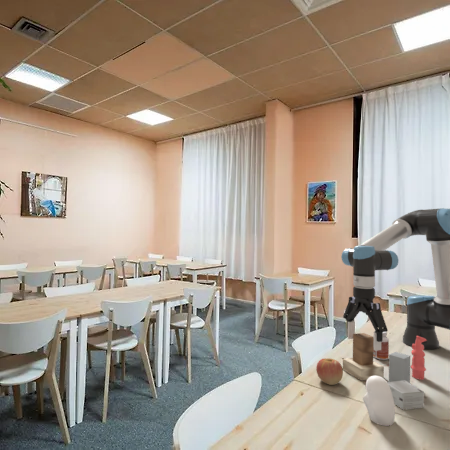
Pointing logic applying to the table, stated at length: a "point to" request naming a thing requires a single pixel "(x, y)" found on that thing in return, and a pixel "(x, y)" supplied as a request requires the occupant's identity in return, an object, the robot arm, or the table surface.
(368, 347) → the walnut pillar
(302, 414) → the table surface
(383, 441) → the table surface
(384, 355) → the pill bottle
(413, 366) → the figurine
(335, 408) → the table surface
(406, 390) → the small box
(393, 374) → the slate pillar
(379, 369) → the birch base
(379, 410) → the figurine
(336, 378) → the apple
